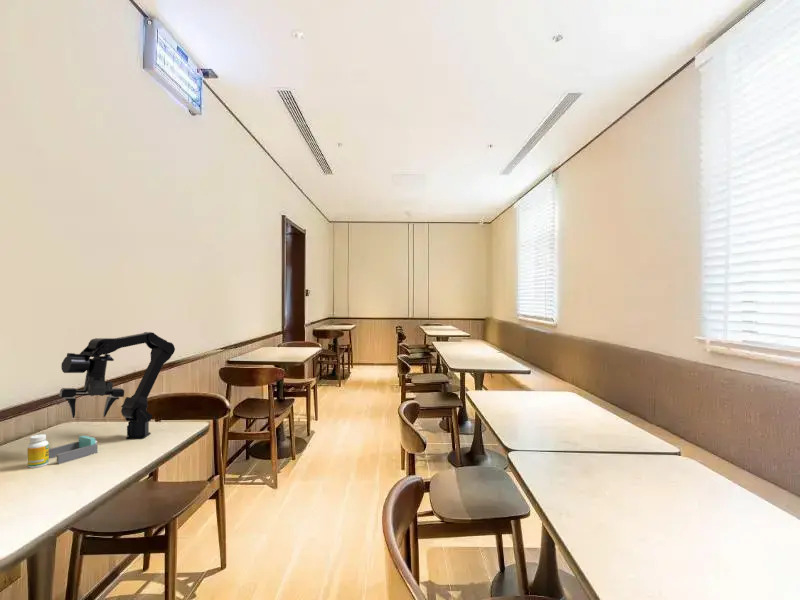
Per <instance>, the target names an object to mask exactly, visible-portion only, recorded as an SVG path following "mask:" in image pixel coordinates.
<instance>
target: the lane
mask: <svg viewBox="0 0 800 600" xmlns="http://www.w3.org/2000/svg"><path fill="white" fill-rule="evenodd" d="M94 453H95V454H98V440H96V437H92V436H88V435H79V436H78V440H77V441H75V442H71V443H66V444H62V445H58V446H55V447H51V448H49V460H50V459H53V458H56V464H57V465H60V464H65V463H68V462H71V461H74V460H78V459H81V458H85V457H88V456H91V454H92V455H94ZM84 456H85V457H84Z"/></svg>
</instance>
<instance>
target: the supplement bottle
mask: <svg viewBox="0 0 800 600" xmlns="http://www.w3.org/2000/svg"><path fill="white" fill-rule="evenodd" d="M29 439H30V440H29V441H30V443H28V445H27V468H29V469H38V468H41V467H45V466H47V465H48V464H49V463H50V461H49V460H50V459H49V449H50V443H49V441H48V440H47V435H46V434H45V433H43V434H41V433H40V434H35V435H32V436H30V438H29Z"/></svg>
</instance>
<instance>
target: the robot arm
mask: <svg viewBox="0 0 800 600" xmlns="http://www.w3.org/2000/svg"><path fill="white" fill-rule="evenodd" d="M141 344H146V346H147V347H148V348H149V349H150V350H151V351H150V353H149V354H150V362H149V363H148V366H147V367H146V370H145V372H143V373H144V374H143V375H142V378H141V380H140V381H139V384H138V386H137V388H136V390H135V392H134V394H133V395H132V396H131V397H129V396H127V397H125V399H124V402H123V404H122V405H121V406H120V407H121V410H120V413H121V415H122V416H123V417H124V419H125V422H128V425H127V426H126V437H125V438H126V440H130V439H131V440H132V439H134V440H138V439H139V440H140V439H146V438H147V437H148V436H150V435H151V434H152V433H151V432H149V431H150V430H149V429H150V428H149V425H150V424H149V423H150V422H151V421H152V419H153V415H152V414H151V413H150V412H148V411H147V409H148V407H149V404H148V397H149V395H150V393H151V391H152V389H153V387H154V385H155V382H156V380H157V379H158V376H159V375H160V372H161V370H162V368H163V366H164V364H166V362H168V361H169V360H170V359H171V358H172V357H173V355H174V353H175V351H176V348H175V345H174V344H173V342H170V341H168V340H166V339H164V338H162V337H160V336H159V335H157V334H156V333H154V332H151V331H148V332H147V331H145V332H141V333H137V334H132V335H125V336H121V337H120V336H119V337H115V338H114V337H109V338H108V337H106V338H103V337H101V338H97V337H96V338H92V339H90V341H89V342H88V344H87V346H86V347H85V348H84V349H83V350H82V351H81V352H80V353H72V352H67V353H66V356H65V357H64V359H63V360H62V362H61V366H60V367H61V372H63V373H64V374H85V372H86V374H85V380H84V385H83V387H84V388H83V389H77V388H74V387H62V388H60V390H59V394H58V395H59V397H60V398H63V399H64V400H65V401H67V402H68V406H69V408H70V413H71V417H72V418H73V419H74V418H75V417H76V404H77V403H76V401H77V398H76V396H89V397H90V396H91V397H94V396H100V397H102V396H106V400H105V405H104V409H103V417H104V418H105V417H106V416H107V414H108V413H109V410H110V409H111V407H112V405H113V404H114V403H115V401H116V400H120V398H124V396H125V390H124V389H123V388H121V387H114V382H113V381H106V380H105V379H106V372H107V371H106V370H107V365H108V362H113V361H114V360H115V359H114V358H113V357H112V356H111V353H114V352H116V351H118V350H119V349H122V348H126V347H132V346H137V345H141Z"/></svg>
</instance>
